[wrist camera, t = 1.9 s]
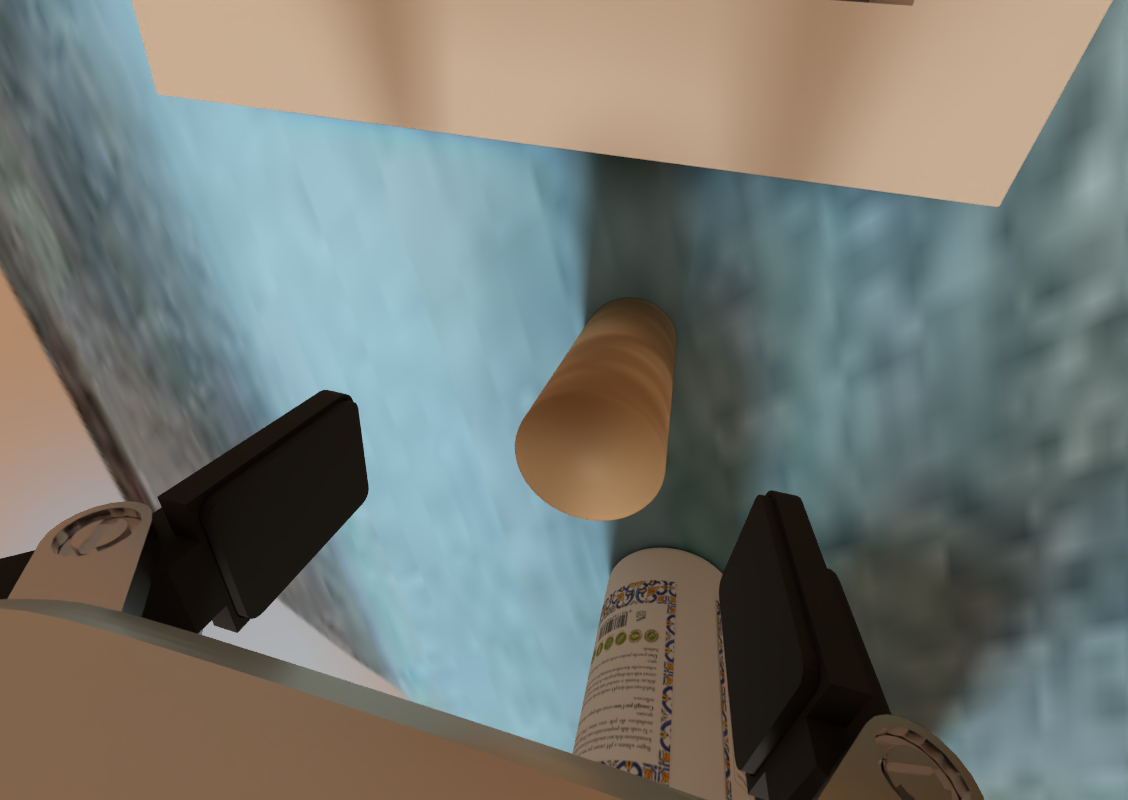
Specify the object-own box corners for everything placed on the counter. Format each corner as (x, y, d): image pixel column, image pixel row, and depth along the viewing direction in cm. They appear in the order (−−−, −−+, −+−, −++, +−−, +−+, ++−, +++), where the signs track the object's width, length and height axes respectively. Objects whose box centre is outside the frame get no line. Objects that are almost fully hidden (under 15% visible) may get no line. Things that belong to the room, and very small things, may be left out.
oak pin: (687, 307, 18) (683, 413, 10) (664, 393, 20) (647, 536, 12) (591, 289, 19) (519, 376, 11) (578, 374, 21) (510, 499, 13)
